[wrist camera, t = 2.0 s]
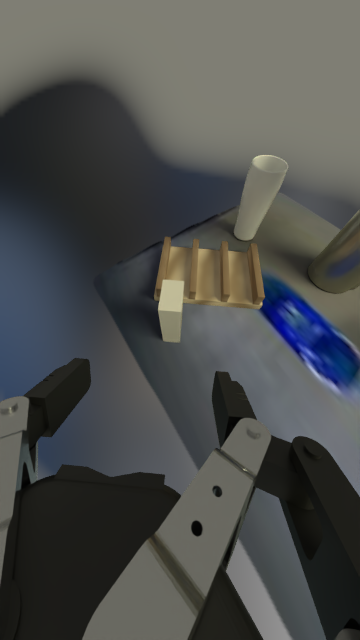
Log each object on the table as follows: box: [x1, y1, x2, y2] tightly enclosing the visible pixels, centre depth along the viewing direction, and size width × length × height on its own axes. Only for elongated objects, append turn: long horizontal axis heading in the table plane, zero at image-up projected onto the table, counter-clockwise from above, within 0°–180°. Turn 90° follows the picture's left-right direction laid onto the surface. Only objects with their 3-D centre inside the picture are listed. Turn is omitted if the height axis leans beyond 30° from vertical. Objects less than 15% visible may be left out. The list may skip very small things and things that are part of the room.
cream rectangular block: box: [158, 279, 184, 343], centre depth 30 cm, size 3×5×11 cm, turn 175°
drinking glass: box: [234, 155, 288, 241], centre depth 40 cm, size 7×7×15 cm
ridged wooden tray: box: [154, 237, 265, 309], centre depth 38 cm, size 21×14×4 cm, turn 85°
